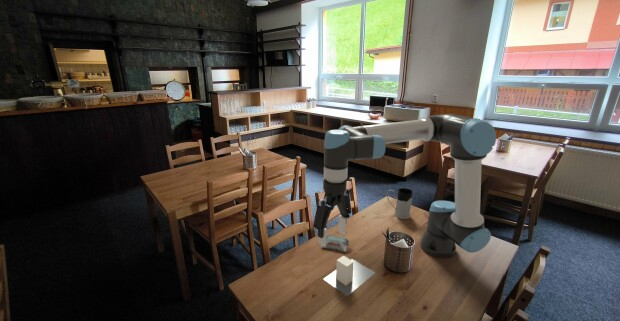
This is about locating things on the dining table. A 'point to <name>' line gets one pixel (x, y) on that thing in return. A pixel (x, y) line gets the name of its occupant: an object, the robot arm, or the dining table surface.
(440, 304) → the dining table surface
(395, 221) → the dining table surface
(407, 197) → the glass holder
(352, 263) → the block
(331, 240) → the packaged food
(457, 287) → the dining table surface
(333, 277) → the board
